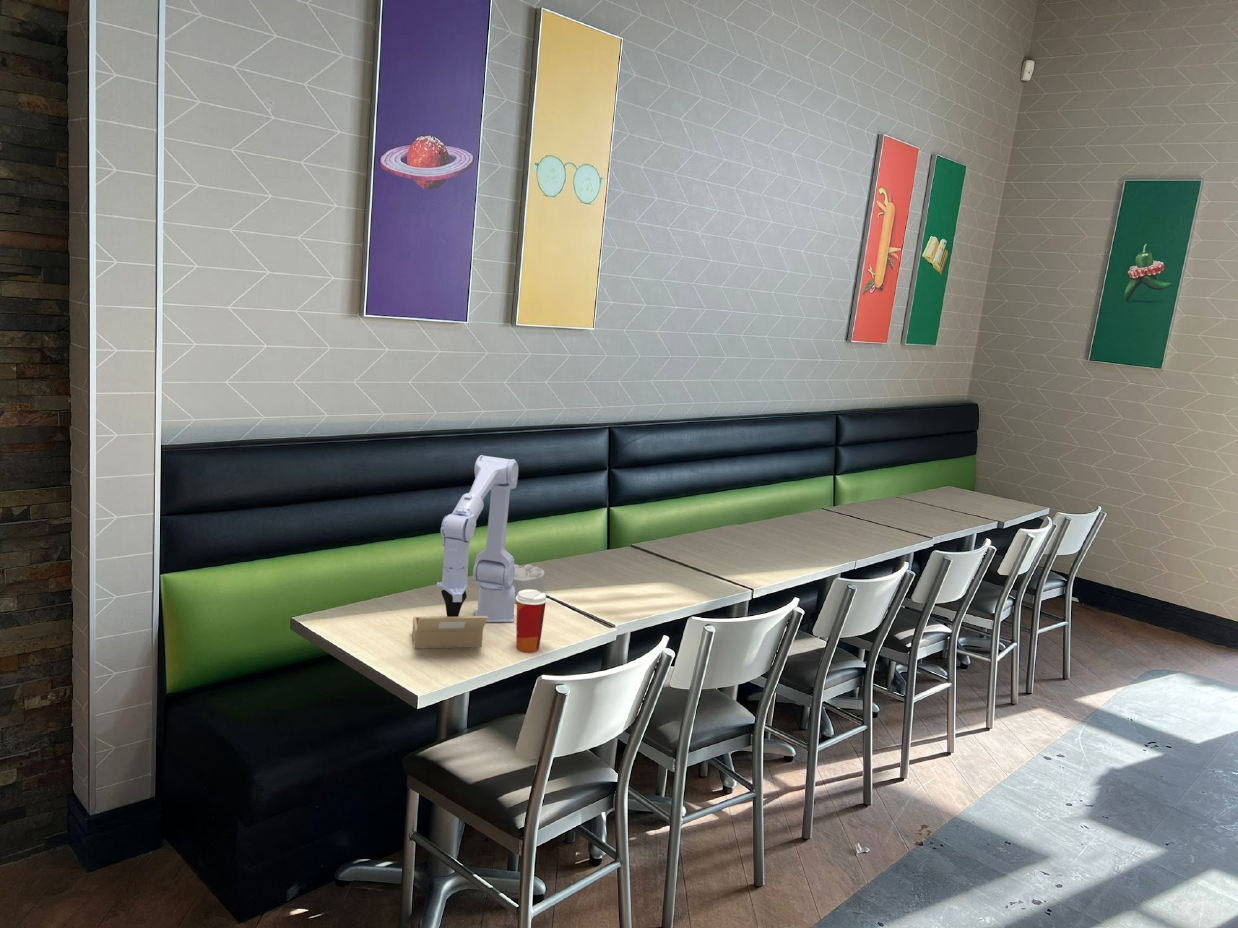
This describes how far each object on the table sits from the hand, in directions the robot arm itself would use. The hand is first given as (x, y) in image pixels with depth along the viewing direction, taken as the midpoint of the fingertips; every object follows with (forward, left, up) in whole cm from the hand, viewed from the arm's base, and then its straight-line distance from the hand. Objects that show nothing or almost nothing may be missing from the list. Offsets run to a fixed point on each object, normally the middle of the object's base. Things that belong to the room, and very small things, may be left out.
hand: (452, 620), depth 215 cm
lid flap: (0, -1, -1) cm, 1 cm away
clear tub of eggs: (-25, -39, -9) cm, 47 cm away
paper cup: (-19, -2, -9) cm, 21 cm away
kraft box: (0, -8, -8) cm, 12 cm away
